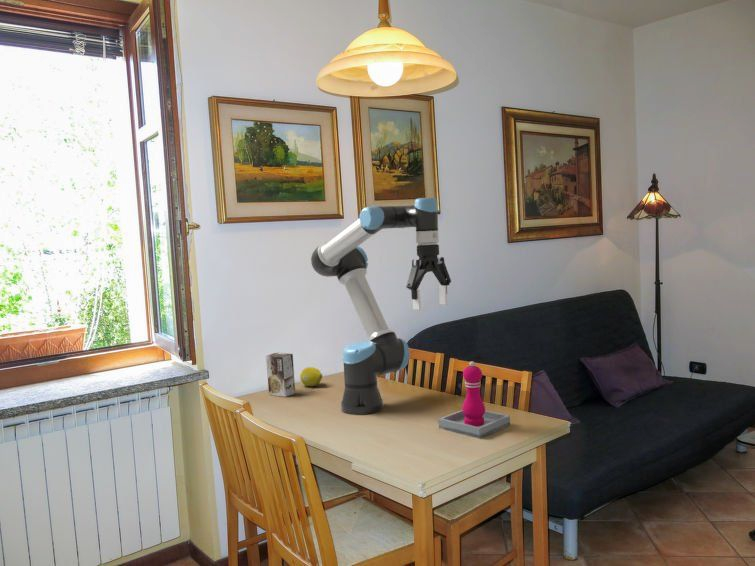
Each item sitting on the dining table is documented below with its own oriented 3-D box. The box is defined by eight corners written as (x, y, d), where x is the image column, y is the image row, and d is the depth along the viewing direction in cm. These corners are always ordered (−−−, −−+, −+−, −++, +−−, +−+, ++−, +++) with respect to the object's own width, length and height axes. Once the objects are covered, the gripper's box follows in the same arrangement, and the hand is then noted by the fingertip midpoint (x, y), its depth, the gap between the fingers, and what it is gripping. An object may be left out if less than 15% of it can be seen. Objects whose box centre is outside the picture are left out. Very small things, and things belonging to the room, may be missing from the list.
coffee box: (296, 393, 249) (293, 353, 248) (285, 397, 244) (282, 356, 242) (278, 391, 254) (276, 352, 253) (268, 395, 249) (265, 355, 247)
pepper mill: (485, 427, 193) (483, 363, 191) (462, 426, 194) (459, 363, 193) (486, 419, 200) (483, 358, 198) (463, 419, 202) (461, 358, 200)
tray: (438, 427, 198) (438, 418, 197) (469, 415, 209) (469, 406, 208) (479, 438, 186) (479, 428, 186) (510, 424, 197) (509, 415, 197)
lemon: (296, 386, 261) (295, 367, 260) (311, 382, 266) (310, 364, 265) (311, 390, 253) (310, 371, 252) (327, 386, 258) (325, 367, 257)
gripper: (410, 246, 198) (413, 312, 200) (459, 242, 215) (462, 302, 217) (393, 246, 204) (396, 310, 205) (443, 242, 221) (445, 301, 223)
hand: (430, 306), depth 211 cm, fingers open, 13 cm apart
